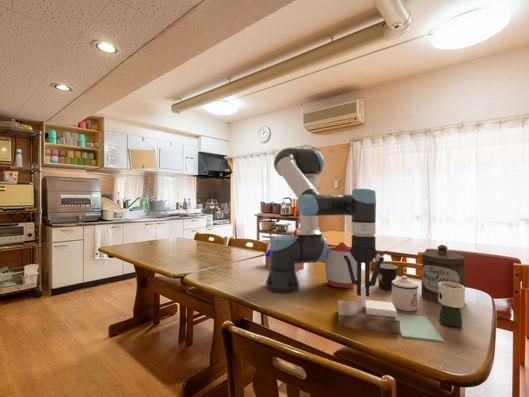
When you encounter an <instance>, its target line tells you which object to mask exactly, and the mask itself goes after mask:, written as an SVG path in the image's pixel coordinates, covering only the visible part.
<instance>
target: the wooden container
mask: <svg viewBox="0 0 529 397" xmlns="http://www.w3.org/2000/svg"><path fill="white" fill-rule="evenodd" d="M437 249H438V250H437V251H435V250H434V251H432V250H431V251H423V252H422V254H421V260H422V263H421V264H422V266H421V296H422V298H424V299H425V300H427V301H430V302H433V303H436V304H441V303H440V302H439V301H438V283H439V282H452V283H457V284H460V285H462V286H464V287H465V284H466V283H465V282H466V280H465V278H466V277H465V256H463V255H461V254H458V253H455V252H449V251H447V250H448V246H446V245H444V244H440V245H438V246H437ZM465 288H466V287H465ZM464 301H466V300H465V294H464ZM441 305H442V304H441Z"/></svg>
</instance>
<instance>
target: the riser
mask: <svg viewBox="0 0 529 397" xmlns="http://www.w3.org/2000/svg"><path fill="white" fill-rule="evenodd" d="M337 318H338V319H337V322H338V327H339V328H347V329H348V328H349V329H357V330H363V331H374V332H382V333H389V334H399V335H401V333H400V320H399V318H398V316H397V317H390V316H381V315H372V314H366V311H365V307H361V305H360V302H359V301H349V300H338V301H337Z"/></svg>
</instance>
